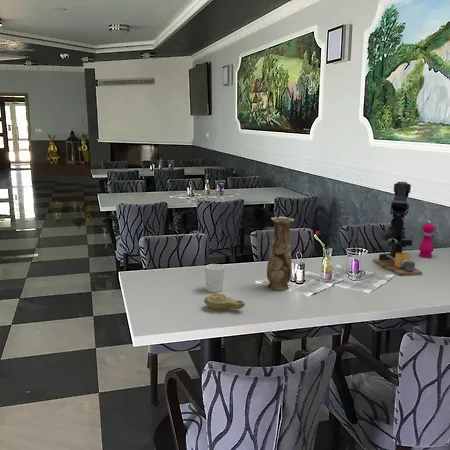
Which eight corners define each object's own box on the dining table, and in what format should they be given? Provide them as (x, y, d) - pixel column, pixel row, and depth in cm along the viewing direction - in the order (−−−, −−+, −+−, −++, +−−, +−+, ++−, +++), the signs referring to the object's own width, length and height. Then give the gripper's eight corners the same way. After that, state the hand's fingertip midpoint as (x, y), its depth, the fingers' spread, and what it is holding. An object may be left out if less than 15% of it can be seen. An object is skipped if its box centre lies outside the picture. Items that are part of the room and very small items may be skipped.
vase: (261, 286, 207) (264, 218, 201) (276, 281, 215) (279, 215, 209) (281, 292, 200) (284, 221, 194) (295, 287, 208) (299, 218, 202)
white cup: (214, 285, 207) (215, 262, 205) (227, 290, 202) (228, 267, 200) (201, 289, 202) (201, 266, 200) (213, 294, 196) (214, 270, 194)
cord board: (373, 262, 250) (374, 250, 249) (393, 261, 253) (394, 249, 251) (399, 276, 227) (400, 263, 226) (422, 274, 230) (423, 262, 228)
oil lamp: (245, 313, 177) (246, 300, 176) (207, 315, 174) (207, 302, 173) (239, 303, 187) (239, 291, 186) (202, 305, 184) (202, 292, 183)
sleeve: (394, 265, 237) (395, 252, 236) (403, 265, 238) (404, 252, 237) (399, 267, 233) (400, 254, 232) (408, 267, 234) (409, 254, 233)
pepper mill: (415, 255, 265) (419, 219, 261) (425, 254, 268) (428, 219, 264) (425, 258, 259) (429, 222, 255) (435, 257, 262) (439, 221, 258)
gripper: (372, 221, 245) (370, 251, 248) (393, 229, 227) (390, 261, 231) (392, 220, 248) (389, 250, 251) (414, 228, 230) (411, 260, 233)
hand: (394, 255), depth 241 cm, fingers closed
